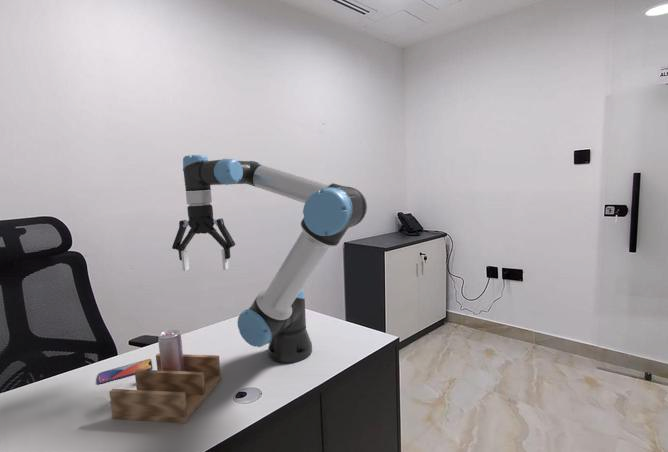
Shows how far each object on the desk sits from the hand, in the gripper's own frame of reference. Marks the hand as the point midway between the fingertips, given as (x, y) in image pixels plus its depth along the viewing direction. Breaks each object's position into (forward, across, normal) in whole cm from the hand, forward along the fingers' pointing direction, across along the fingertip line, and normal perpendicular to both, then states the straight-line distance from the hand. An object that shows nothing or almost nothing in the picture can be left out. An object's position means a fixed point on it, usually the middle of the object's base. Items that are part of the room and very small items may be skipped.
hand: (206, 269), depth 114 cm
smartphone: (+32, +26, +8) cm, 42 cm away
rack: (+31, +3, +21) cm, 38 cm away
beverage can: (+30, +5, +16) cm, 34 cm away
